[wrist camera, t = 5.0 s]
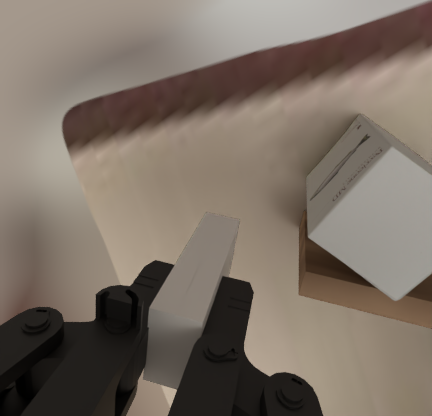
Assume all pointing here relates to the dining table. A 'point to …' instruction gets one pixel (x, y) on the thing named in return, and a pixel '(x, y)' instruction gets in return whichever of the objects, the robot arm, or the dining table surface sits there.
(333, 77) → the dining table surface
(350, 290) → the shelf
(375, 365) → the dining table surface
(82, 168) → the dining table surface
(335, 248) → the supplement box
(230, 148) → the dining table surface
